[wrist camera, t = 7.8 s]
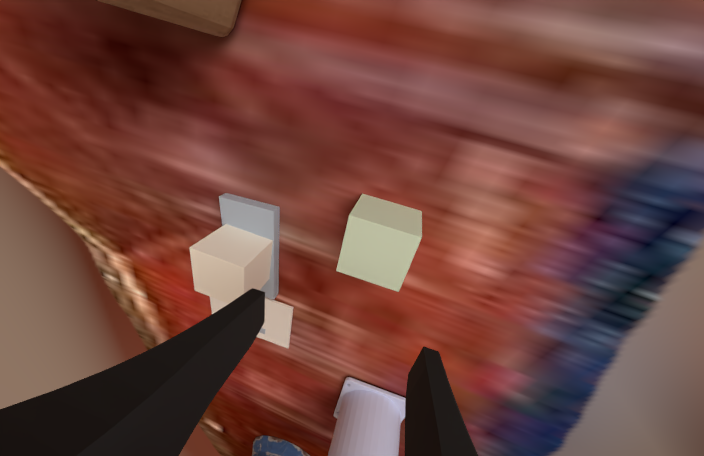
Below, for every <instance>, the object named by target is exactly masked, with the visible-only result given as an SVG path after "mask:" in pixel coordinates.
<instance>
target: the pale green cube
mask: <svg viewBox="0 0 704 456" xmlns="http://www.w3.org/2000/svg"><path fill="white" fill-rule="evenodd" d="M421 238H422V211H419V210H416V209H413V208H409V207H406V206H402V205H399V204H396V203H392V202H389V201H386V200H382V199H379V198H375V197H372V196H369V195H365V194H362V195H361V197H360V198H359V200H358V201H357V203H356V205H355V206H354V208H353V210H352V211H351V213H350V214H349V218H348V222H347V226H346V231H345V235H344V239H343V244H342V248H341V252H340V257H339V261H338V265H337V269H336V271H338V272H341V273H344V274H347V275H350V276H353V277H356V278H359V279H362V280H365V281H368V282H371V283H373V284H376V285H379V286H382V287H385V288H388V289H391V290H394V291H397V292H399V290H400V288H401V285H402V283H403V281H404V278H405V276H406V274H407V271H408V269H409V267H410V264H411V262H412V259H413V257H414V255H415V252H416V250H417V248H418V245H419V243H420V241H421Z"/></svg>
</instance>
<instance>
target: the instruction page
mask: <svg viewBox="0 0 704 456" xmlns="http://www.w3.org/2000/svg"><path fill="white" fill-rule="evenodd" d="M210 301H211V309H212V314H214V313H215V312H217V311H218V310H220V309H221V308H223V307H225V306H226V305H228V303H226V302H223V301H220V300H218V299H215V298H213V297H210ZM292 316H293V307H292V306H289V305H287V304H284V303H281V302H278V301H275V300H272V299H269V298H267V297H265V321H264V324H263V326H262V328H261V329H260V331H259V333H258V335H257V337H258V338H261V339H264V340H266V341H269V342H272V343H274V344H277V345H280V346H283V347H285V348H289V342H290V333H291V324H292Z"/></svg>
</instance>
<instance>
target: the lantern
mask: <svg viewBox="0 0 704 456" xmlns="http://www.w3.org/2000/svg"><path fill="white" fill-rule="evenodd" d="M252 456H310V455H309V454H307V453H306V452H305V451H303V450H302V449H301V448H299V447H297V446H296V445H294V444H292V443H290V442H288V441H285V440H282V439H279V438H276V437H271V436H259V437H256V438H255V440H254V441H253V451H252Z"/></svg>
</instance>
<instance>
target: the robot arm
mask: <svg viewBox="0 0 704 456" xmlns="http://www.w3.org/2000/svg"><path fill="white" fill-rule="evenodd" d="M264 321H265V292H263V291H260V290H257V289H254V288H252V289H250V290H249V291H247V292H246V293H244V294H243V295H241V296H240V297H238V298H237V299H235V300H234V301H232V302H231V303H229V304H228V305H226V306H225V307H223V308H221V309H220V310H218V311H217V312H215V313H214V314H212V315H210V316H209V317H207V318H206V319H204V320H202V321H201V322H199V323H197V324H196V325H194V326H192V327H190V328H189V329H187V330H185V331H184V332H182V333H180V334H178V335H177V336H175V337H173V338H171V339H169V340H167V341H165V342H164V343H162V344H160V345H158V346H156V347H154V348H152V349H150V350H148V351H146V352H144V353H142V354H139V355H137V356H135V357H133V358H131V359H129V360H127V361H125V362H122V363H120V364H118V365H116V366H113V367H111V368H109V369H106V370H104V371H102V372H100V373H97V374H94V375H92V376H89V377H87V378H84V379H82V380H79V381H77V382H74V383H72V384H70V385H68V386H65V387H62V388H59V389H57V390H54V391H52V392H49V393H46V394H43V395H40V396H38V397H34V398H32V399H29V400H26V401H23V402H20V403H17V404H15V405H12V406H9V407H6V408H3V409H0V456H179V454H180V452H181V451H182V449H183V447H184V445H185V444H186V442H187V440H188V439H189V437H190V435H191V434H192V432H193V430H194V428H195V427H196V425H197V424H198V422H199V420H200V419H201V417H202V415H203V414H204V412H205V410H206V409H207V407H208V405H209V404H210V402H211V401H212V399H213V398H214V396H215V395H216V394H217V392H218V391H219V389H220V388H221V387H222V385H223V384H224V382H225V381H226V380H227V378H228V377H229V376H230V374H231V373H232V371H233V370H234V369H235V367H236V366H237V364H238V363H239V362H240V360H241V359H242V358H243V356H244V355H245V353H246V352H247V351H248V349H249V348H250V346H251V345H252V343H253V342H254V340H255V338H256V337H257V335H258V333H259V331H260V329H261V328H262V326H263V324H264ZM333 416H334V417H335V418H337V422H336V426H335V430H334V434H333V438H332V442H331V446H330V449H329V453H328V456H398V453H399V437H400V424H401V422H402V421H403V419H404V418H405V456H478V454H477V452H476V450H475V447H474V445H473V443H472V440H471V438H470V436H469V433H468V431H467V429H466V426H465V424H464V421H463V419H462V416H461V413H460V411H459V408H458V406H457V403H456V401H455V398H454V395H453V392H452V390H451V387H450V384H449V381H448V378H447V375H446V372H445V369H444V366H443V363H442V360H441V357H440V354H439V352H438V351H435V350H432V349H429V348H426V347H423V349H422V350H421V352H420V354H419V356H418V358H417V359H416V361H415V363H414V365H413V367H412V368H411V370H410V372H409V374H408V382H407V391H406V398H404V397H401V396H399V395H396V394H393V393H391V392H388V391H385V390H383V389H380V388H377V387H375V386H372V385H369V384H367V383H364V382H361V381H359V380H356V379H353V378H351V377H347V378H346V379H345V382H344V385H343V388H342V391H341V394H340V397H339V400H338V402H337V405H336V408H335V411H334V415H333Z"/></svg>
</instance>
